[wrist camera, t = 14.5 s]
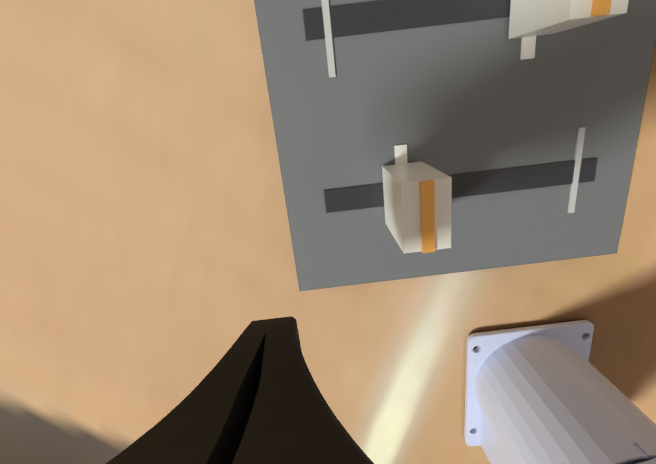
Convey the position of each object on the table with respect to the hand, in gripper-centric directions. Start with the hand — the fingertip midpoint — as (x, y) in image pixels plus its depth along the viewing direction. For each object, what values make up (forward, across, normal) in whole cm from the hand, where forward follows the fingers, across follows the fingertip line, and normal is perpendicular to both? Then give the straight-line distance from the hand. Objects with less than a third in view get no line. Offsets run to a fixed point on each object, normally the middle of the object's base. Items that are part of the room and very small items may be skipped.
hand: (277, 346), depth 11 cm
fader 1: (+9, -6, -2) cm, 11 cm away
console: (+10, -9, -6) cm, 15 cm away
